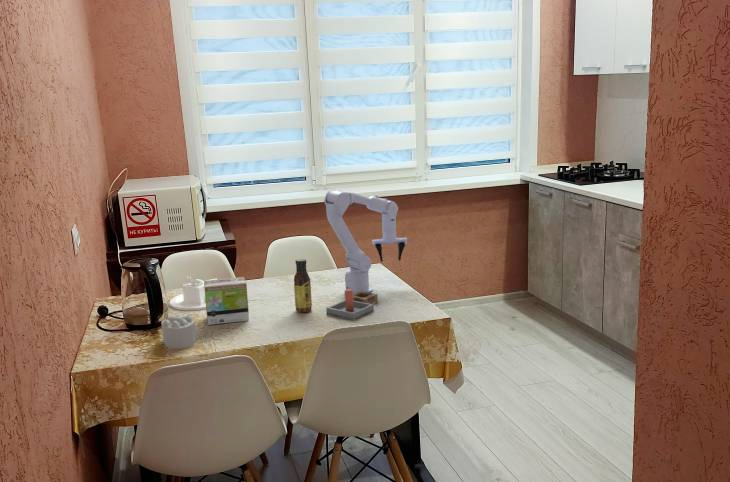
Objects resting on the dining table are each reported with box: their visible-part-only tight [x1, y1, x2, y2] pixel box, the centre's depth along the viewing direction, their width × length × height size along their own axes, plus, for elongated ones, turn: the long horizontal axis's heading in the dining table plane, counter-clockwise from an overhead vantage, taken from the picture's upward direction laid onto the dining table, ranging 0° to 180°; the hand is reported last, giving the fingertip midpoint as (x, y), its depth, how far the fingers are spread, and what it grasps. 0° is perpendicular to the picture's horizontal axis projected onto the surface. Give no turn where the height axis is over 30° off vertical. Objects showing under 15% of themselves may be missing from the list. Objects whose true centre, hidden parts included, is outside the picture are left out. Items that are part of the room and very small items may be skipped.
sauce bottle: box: [293, 258, 313, 313], centre depth 247 cm, size 7×6×20 cm
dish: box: [169, 274, 218, 312], centre depth 267 cm, size 25×25×11 cm
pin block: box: [353, 291, 379, 305], centre depth 255 cm, size 8×8×3 cm
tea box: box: [203, 276, 250, 326], centre depth 242 cm, size 15×10×15 cm
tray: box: [325, 299, 375, 321], centre depth 244 cm, size 13×12×2 cm
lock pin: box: [344, 289, 354, 312], centre depth 243 cm, size 3×3×8 cm
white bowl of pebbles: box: [160, 314, 197, 350], centre depth 221 cm, size 10×13×9 cm
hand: (390, 260), depth 276 cm, fingers open, 7 cm apart
